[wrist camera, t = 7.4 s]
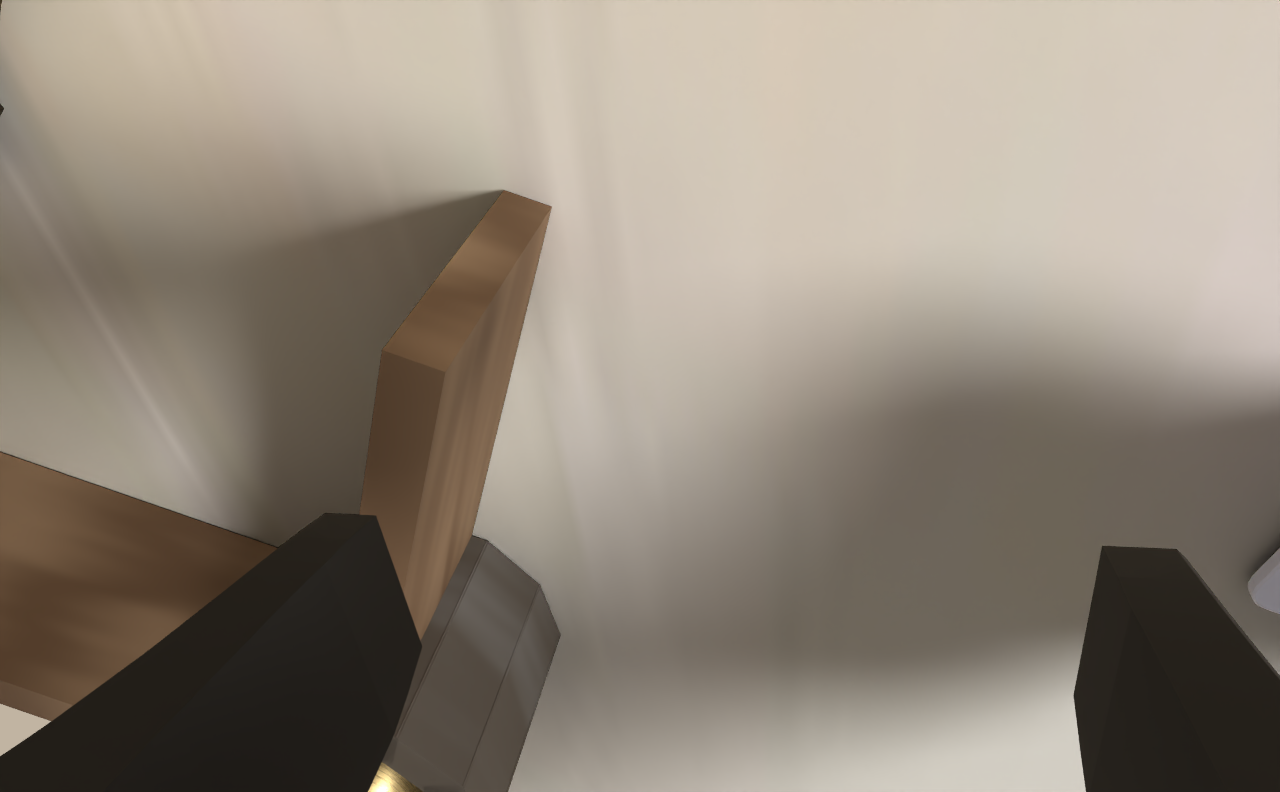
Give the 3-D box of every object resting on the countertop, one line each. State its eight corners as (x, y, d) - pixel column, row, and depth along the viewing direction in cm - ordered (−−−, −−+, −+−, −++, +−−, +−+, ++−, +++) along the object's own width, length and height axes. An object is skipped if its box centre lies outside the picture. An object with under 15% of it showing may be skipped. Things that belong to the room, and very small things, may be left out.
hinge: (695, 256, 19) (637, 438, 15) (528, 725, 29) (461, 925, 25) (-105, -22, 19) (-431, 68, 14) (0, 543, 29) (-172, 708, 24)
